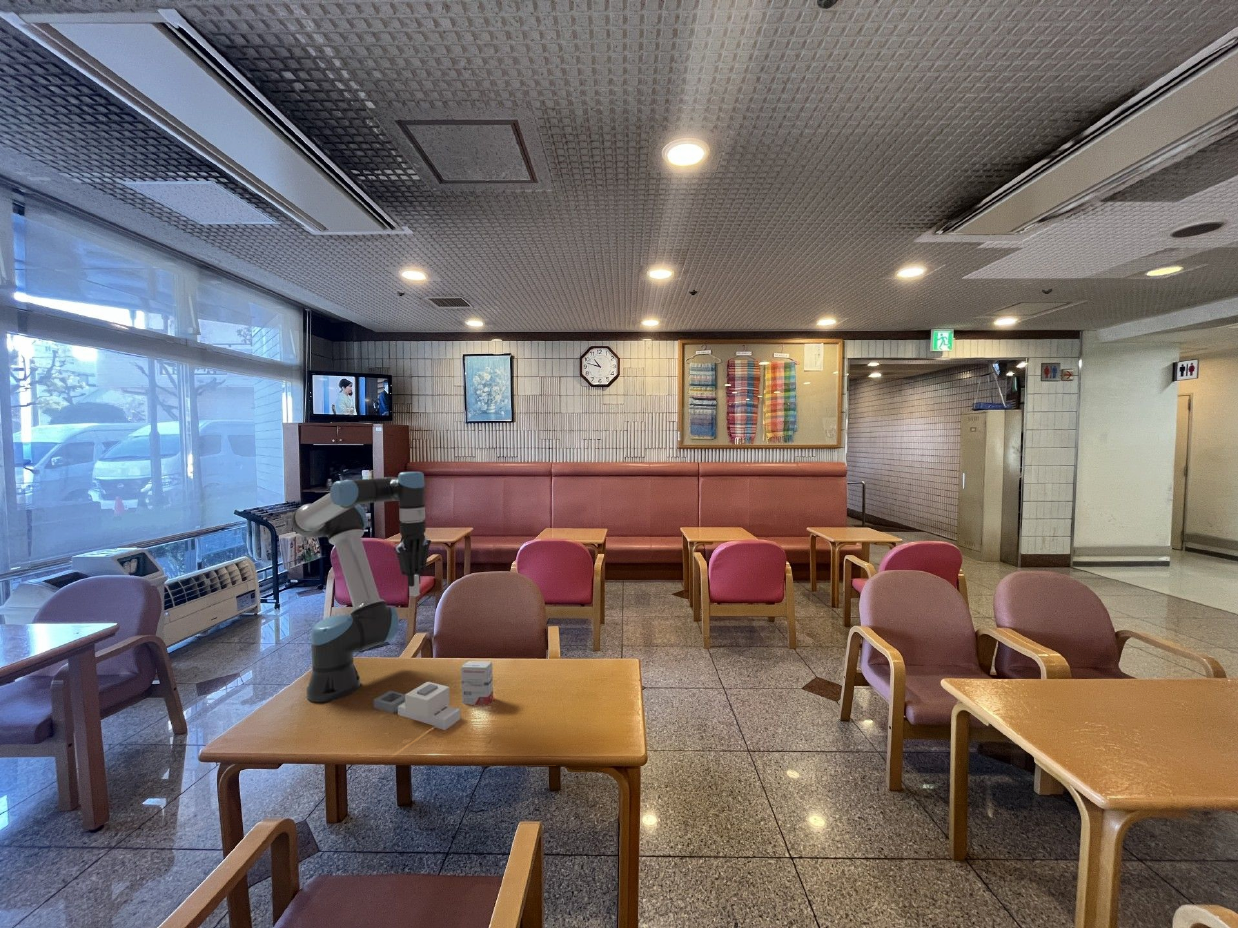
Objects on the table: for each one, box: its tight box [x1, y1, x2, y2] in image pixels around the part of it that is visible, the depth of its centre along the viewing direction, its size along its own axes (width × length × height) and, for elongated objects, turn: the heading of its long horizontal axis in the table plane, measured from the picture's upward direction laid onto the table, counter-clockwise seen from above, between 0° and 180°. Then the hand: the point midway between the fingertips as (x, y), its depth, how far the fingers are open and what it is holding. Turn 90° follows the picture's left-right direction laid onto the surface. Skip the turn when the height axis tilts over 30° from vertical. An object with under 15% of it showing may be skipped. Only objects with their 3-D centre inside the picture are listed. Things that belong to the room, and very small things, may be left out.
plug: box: [405, 681, 450, 718], centre depth 144 cm, size 8×8×8 cm
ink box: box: [460, 660, 494, 706], centre depth 153 cm, size 9×5×12 cm, turn 84°
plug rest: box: [373, 690, 406, 714], centre depth 150 cm, size 8×6×3 cm
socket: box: [397, 702, 461, 731], centre depth 144 cm, size 18×6×4 cm, turn 66°
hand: (414, 595), depth 156 cm, fingers closed
